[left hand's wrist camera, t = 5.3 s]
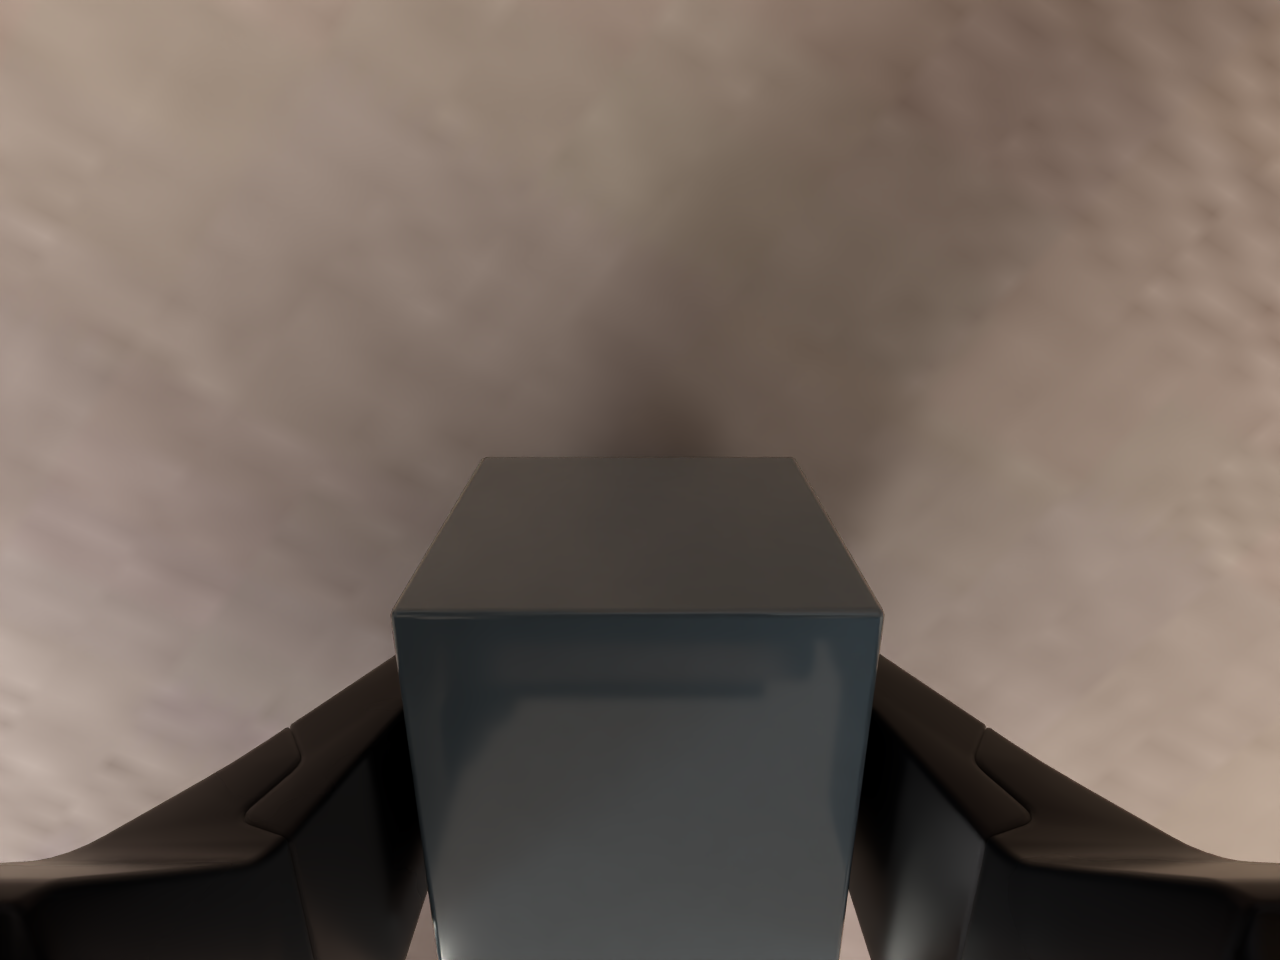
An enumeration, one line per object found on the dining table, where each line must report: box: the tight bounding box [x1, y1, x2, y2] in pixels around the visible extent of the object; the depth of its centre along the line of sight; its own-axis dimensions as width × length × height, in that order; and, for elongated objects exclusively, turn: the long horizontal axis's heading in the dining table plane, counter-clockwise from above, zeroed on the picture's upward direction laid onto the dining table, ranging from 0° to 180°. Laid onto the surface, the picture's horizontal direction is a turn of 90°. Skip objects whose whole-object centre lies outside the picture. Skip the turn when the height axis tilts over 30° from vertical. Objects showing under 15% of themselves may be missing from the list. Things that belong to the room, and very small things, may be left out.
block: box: [390, 457, 884, 960], centre depth 10 cm, size 5×5×4 cm
